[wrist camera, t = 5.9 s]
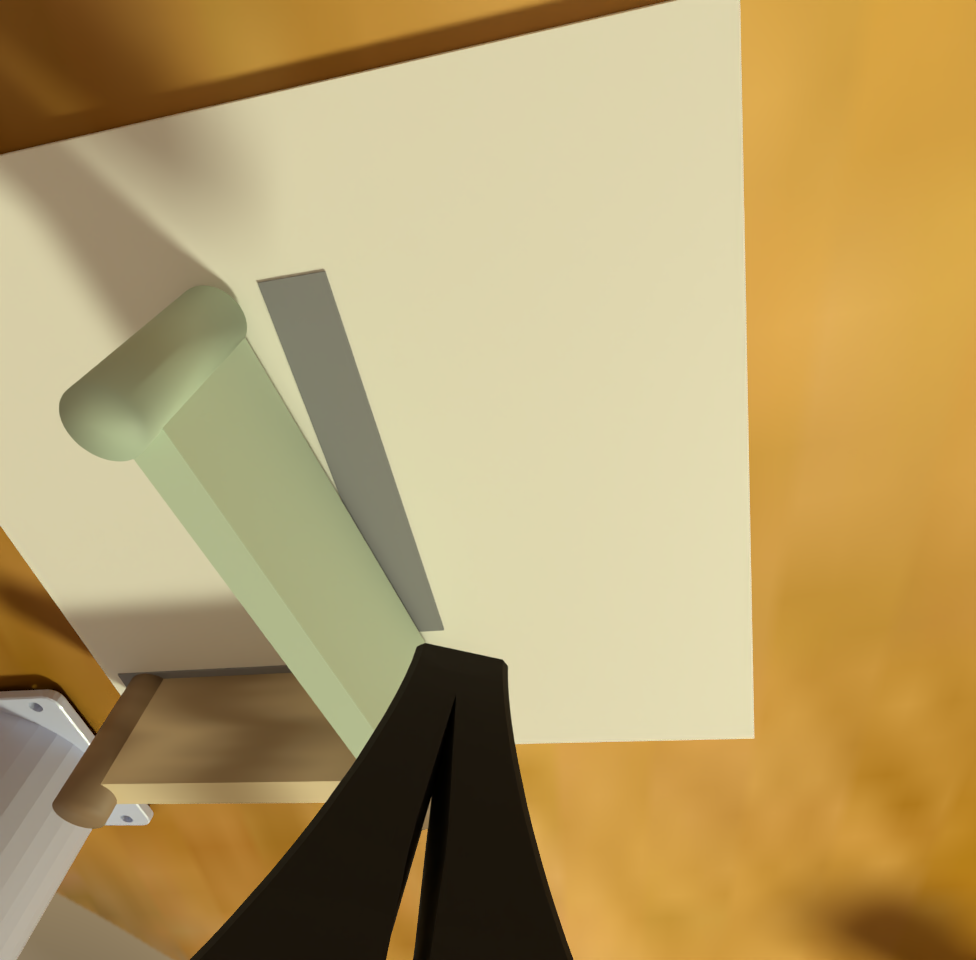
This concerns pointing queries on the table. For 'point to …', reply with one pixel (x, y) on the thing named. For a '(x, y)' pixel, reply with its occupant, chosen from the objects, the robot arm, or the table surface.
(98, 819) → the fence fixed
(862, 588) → the table surface
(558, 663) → the card
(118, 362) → the pale green bar
